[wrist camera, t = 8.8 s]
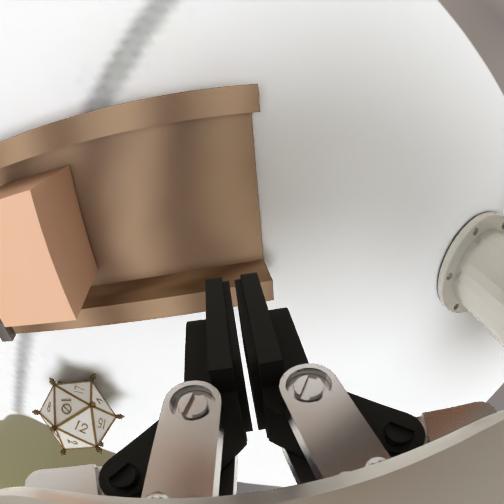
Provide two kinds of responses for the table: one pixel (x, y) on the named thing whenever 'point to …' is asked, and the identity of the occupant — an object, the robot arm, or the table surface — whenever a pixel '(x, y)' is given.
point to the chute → (155, 200)
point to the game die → (77, 414)
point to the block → (43, 250)
